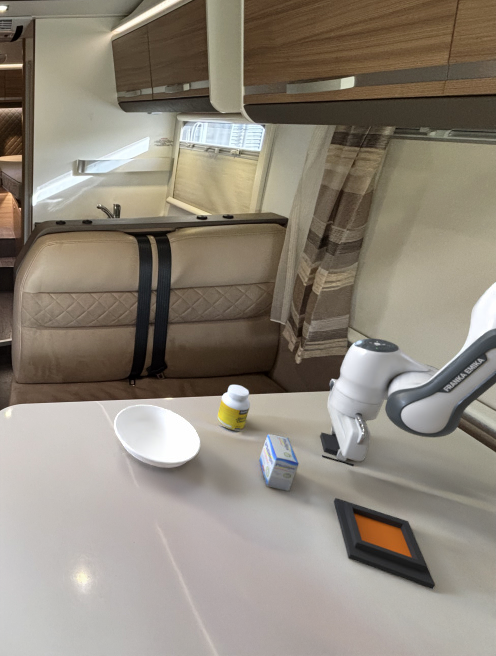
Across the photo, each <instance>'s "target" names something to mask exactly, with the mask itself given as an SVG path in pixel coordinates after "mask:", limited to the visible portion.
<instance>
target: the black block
mask: <svg viewBox="0 0 496 656" xmlns="http://www.w3.org/2000/svg"><path fill="white" fill-rule="evenodd" d="M319 437H320V442H321V444H322V449H323V452H324V453H326V454H329V455H333V456H336V451H337V449H340V446H339V443H338V440H337V437H336V436H334V435H330V433H326V432H323V431H321V433H320V435H319ZM321 457H322V458H323V459H327V460H330V461H334V462H338V463H340V464H343V465H348V466H351V467H353V466H354V465H355V464H354V463H351V462H347V461H342V460H339V459H337V458H334V457H330V456H327V455H323V454H321ZM346 460H350V461H354V462H356V461H355V460H351V459H348V458H347V459H346Z"/></svg>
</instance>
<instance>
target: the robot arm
mask: <svg viewBox="0 0 496 656" xmlns="http://www.w3.org/2000/svg"><path fill="white" fill-rule="evenodd" d="M469 323H470V324H469V330H468V334H467V337H466V339H465V342H464V344H463V346H462V348H461V349H460V350H459V351H458V352H457V354H456V355H455V356H454V357H453V358H452V359H450V360H449V361H448V362H447V363H446V364H445V365H443V367H441V368H440V369H438V367H435V366H432V365H429V364H426V363H423V362H421V361H420V360H417V359H415V358H414V357H412V356H411V355H409V354H407V353H406V352H404V350H402V348H401V347H400V346H398V345H397V344H396V343H394V342H392V341H388V340H386V339H382V338H381V339H380V338H374V337H373V338H370V337H369V338H362V339H359V340H356V341H355V342H353V343H352V345H351V346H350V347H349V349H348V350H347V352H346V354H345V355H344V358H343V360H342V363H341V366H340V368H339V369H340V370H339V373H340V374H339V377H338V379H335V378H331V380H330V381H329V389H330V390H329V393H328V397H327V401H326V402H327V404H326V407H327V411H328V414H329V417H330V421H331V425H330V426H331V429H330V432H329V434H330V435H334V436H336V437H337V440H338V443H339V446H340V449H337V451H336V455H335V456H336V459H337V460H341V461H344V462H347V460H350V459H351V460H350V461H353V460H355V461H354V462H359V463H360V462H363V461H364V460H365V458H366V456H367V454H368V451H369V446H370V443H371V437H372V436H371V431H370V429H369V426H368V424H367V422H368V421H374V420H376V419H377V418H378V416H379V414H380V411H381V409H382V406H383V404H384V402H385V401H386V402H385V406H384V409H385V414H386V416H387V418H388V419H389V421H390V422H391V423H393V424H394V426H396V427H397V428H398V429H401V430H402V431H404V432H406V433H409V434H411V435H414V436H419V437H423V438H441V437H446V436H449V435H451V434H452V433H453V432H455V431H457V428H458V427H459V425H460V422H461V419H462V417H463V414H464V412H465V411H466V409H467V408H468V407H469V406H470V405H472V404H473V402H475V401H476V400H477V399H478V398H479V397H481V396H483V394H485V393H486V392H487V391H488V390H489V389H491V388H492V387H493V386H494V385H496V281H495V282H494V283H492V284H491V285H490V286H489V287H488V288H487V289H486V290H485V291H484V292H483V294H482V295H480V297H479V298H478V300H477V301H476V303H475V304H474V305H473V307H472V310H471V315H470V322H469ZM347 458H348V459H347Z"/></svg>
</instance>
